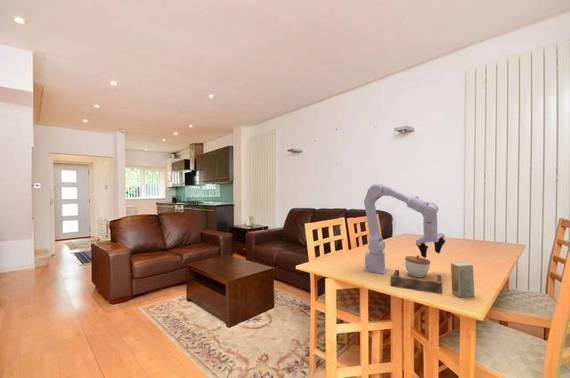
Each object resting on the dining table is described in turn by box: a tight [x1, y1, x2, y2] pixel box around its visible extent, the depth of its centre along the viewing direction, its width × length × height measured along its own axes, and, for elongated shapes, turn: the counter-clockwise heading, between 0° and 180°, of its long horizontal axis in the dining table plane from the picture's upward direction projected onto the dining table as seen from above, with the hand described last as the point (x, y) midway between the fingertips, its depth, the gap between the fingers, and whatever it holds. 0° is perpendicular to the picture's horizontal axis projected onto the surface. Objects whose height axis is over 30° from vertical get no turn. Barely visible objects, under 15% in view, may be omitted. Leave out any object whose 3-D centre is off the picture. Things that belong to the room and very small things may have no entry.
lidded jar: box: [404, 254, 431, 278], centre depth 126 cm, size 11×11×9 cm
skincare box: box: [450, 261, 475, 298], centre depth 103 cm, size 6×4×12 cm
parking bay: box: [390, 269, 443, 294], centre depth 116 cm, size 19×16×4 cm
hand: (430, 254), depth 127 cm, fingers open, 7 cm apart
